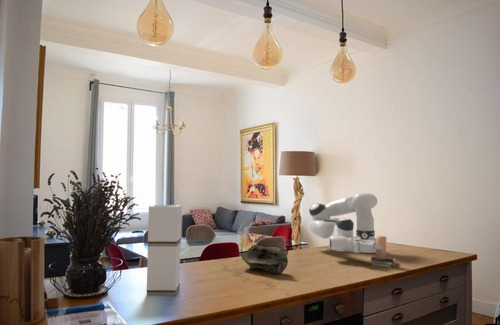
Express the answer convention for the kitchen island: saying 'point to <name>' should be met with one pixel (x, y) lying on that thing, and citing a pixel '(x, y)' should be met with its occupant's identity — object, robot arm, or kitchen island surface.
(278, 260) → the hollow geode rock
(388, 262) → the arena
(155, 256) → the white banded pillar
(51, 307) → the kitchen island surface
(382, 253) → the terracotta jar
